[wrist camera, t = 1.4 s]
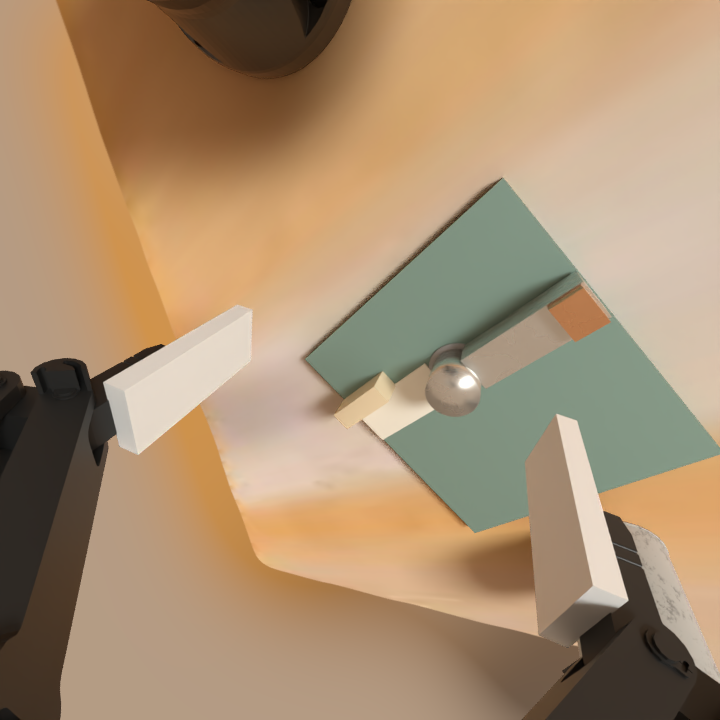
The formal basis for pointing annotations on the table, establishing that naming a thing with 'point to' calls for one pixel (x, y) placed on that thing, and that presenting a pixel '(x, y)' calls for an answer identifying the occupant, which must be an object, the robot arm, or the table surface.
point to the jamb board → (512, 394)
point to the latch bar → (514, 344)
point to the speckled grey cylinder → (671, 598)
